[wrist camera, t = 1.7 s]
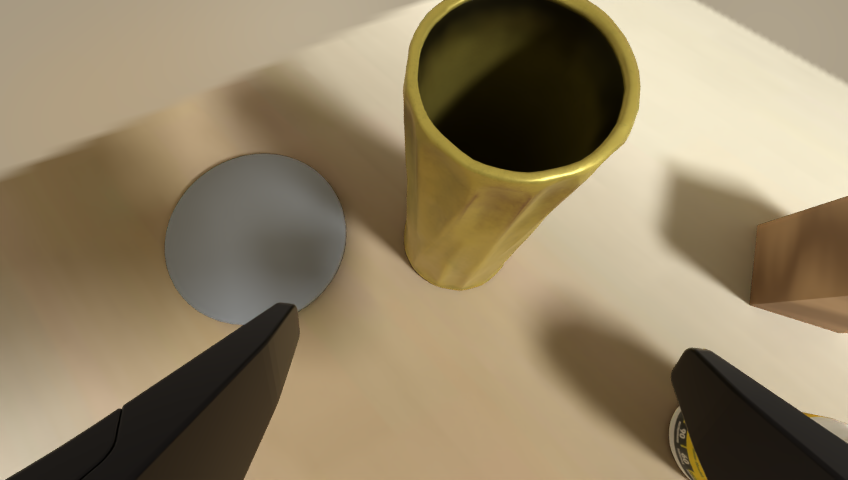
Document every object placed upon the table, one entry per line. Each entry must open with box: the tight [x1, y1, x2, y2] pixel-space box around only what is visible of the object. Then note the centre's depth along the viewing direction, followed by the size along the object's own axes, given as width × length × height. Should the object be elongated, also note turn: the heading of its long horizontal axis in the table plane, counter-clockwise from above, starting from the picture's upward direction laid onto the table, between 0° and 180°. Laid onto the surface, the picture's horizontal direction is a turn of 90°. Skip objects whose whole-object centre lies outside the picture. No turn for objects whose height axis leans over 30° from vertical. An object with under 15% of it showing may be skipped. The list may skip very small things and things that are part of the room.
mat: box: [165, 154, 346, 325], centre depth 21 cm, size 10×10×1 cm
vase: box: [403, 0, 640, 290], centre depth 15 cm, size 6×6×14 cm
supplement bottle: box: [669, 406, 848, 480], centre depth 15 cm, size 5×5×8 cm
